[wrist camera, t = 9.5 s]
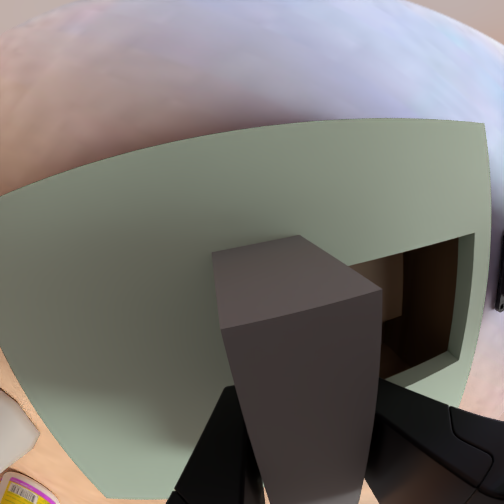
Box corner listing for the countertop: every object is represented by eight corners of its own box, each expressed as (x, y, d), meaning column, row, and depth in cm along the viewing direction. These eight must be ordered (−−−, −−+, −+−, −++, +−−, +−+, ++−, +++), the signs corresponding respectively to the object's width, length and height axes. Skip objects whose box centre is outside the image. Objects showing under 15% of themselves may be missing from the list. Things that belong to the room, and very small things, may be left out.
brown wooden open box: (381, 135, 13) (467, 124, 8) (390, 344, 17) (448, 401, 11) (54, 195, 12) (-26, 212, 6) (127, 404, 15) (108, 484, 9)
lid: (467, 124, 8) (569, 121, 4) (448, 401, 11) (499, 453, 7) (-26, 212, 6) (-128, 244, 2) (108, 484, 9) (97, 561, 5)
